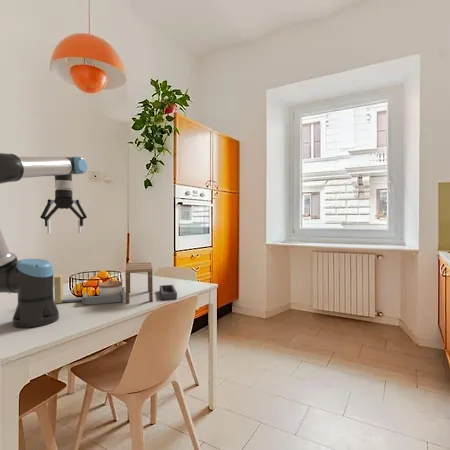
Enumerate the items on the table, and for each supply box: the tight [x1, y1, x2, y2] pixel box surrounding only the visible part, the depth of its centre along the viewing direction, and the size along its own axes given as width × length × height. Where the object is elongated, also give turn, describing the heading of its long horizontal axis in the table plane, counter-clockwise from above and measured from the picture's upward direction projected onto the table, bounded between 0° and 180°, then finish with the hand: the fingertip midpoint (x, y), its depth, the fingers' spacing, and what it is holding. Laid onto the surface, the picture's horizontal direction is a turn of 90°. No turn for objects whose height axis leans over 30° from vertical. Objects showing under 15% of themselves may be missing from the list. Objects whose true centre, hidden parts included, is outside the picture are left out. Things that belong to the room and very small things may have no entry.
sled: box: [53, 274, 126, 306], centre depth 148 cm, size 16×30×12 cm, turn 106°
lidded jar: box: [98, 279, 123, 296], centre depth 150 cm, size 11×11×9 cm
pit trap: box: [159, 284, 178, 301], centre depth 158 cm, size 18×7×3 cm, turn 16°
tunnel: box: [124, 261, 154, 304], centre depth 154 cm, size 21×12×16 cm, turn 16°
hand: (64, 233), depth 152 cm, fingers open, 13 cm apart
